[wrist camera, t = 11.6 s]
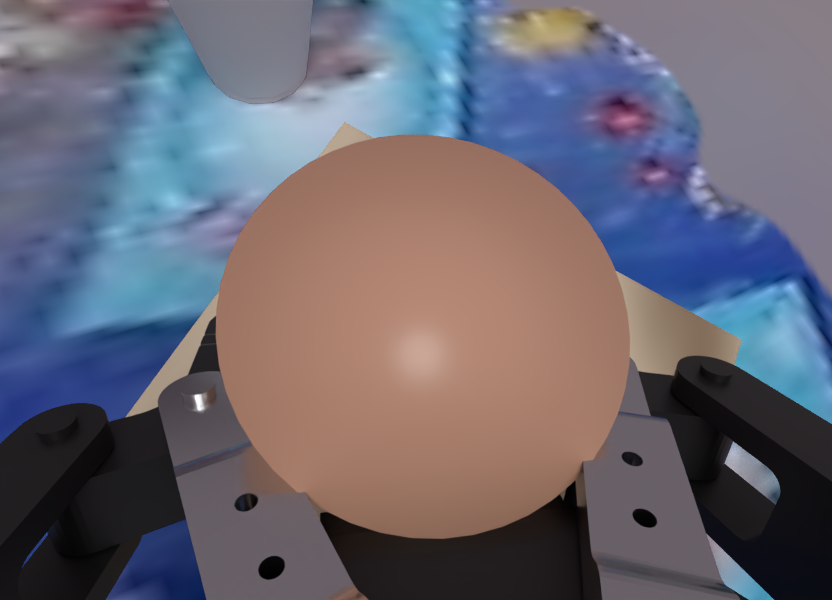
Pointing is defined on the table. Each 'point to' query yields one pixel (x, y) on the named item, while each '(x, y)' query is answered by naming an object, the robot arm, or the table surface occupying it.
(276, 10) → the foam cup
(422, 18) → the table surface
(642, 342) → the wooden stand
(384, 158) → the tan dome-topped peg
